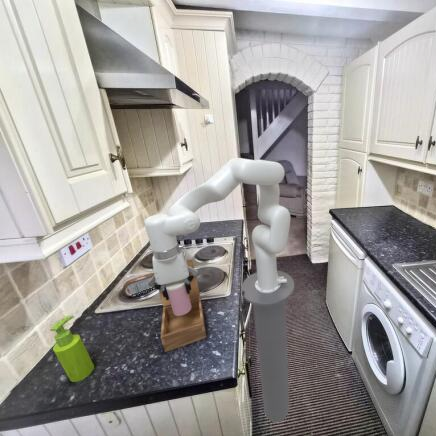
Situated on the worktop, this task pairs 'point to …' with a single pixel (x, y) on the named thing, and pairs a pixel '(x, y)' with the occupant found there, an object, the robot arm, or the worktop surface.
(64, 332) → the soap dispenser
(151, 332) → the worktop surface
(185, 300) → the tube
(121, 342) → the worktop surface
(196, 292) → the lid
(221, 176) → the robot arm
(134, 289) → the tin
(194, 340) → the chest
